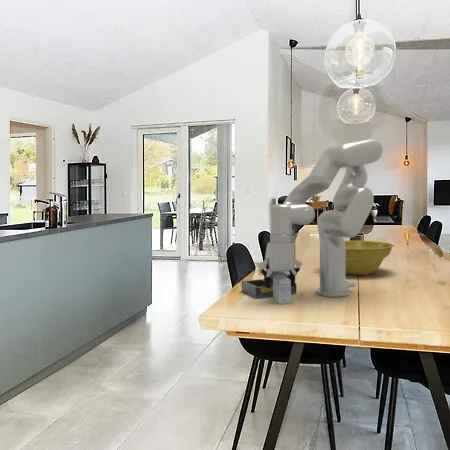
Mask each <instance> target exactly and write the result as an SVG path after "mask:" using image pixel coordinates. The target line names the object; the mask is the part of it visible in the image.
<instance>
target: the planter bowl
mask: <svg viewBox="0 0 450 450" xmlns="http://www.w3.org/2000/svg"><path fill="white" fill-rule="evenodd" d="M344 242H345V246H346V274H347V275H352V276H354V275H355V276H365V275H371V274H374V273H375V272H376V271H378V269H379V268H380V266H381V265H382V262H383V260H384V259H385V258H387V257H388V256H389V255H390V254H391V252H392V248H394V247H395V245H394V244H393V243H389V242H384V241H373V240H344Z"/></svg>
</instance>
